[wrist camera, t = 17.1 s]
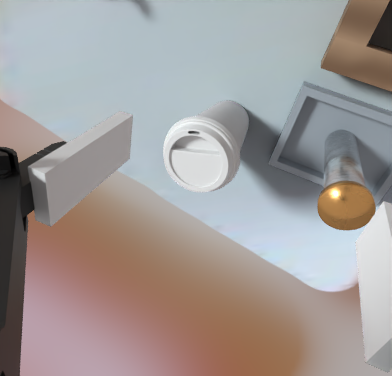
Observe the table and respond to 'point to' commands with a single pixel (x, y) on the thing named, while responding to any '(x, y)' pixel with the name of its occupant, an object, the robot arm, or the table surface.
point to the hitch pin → (344, 185)
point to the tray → (329, 122)
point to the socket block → (360, 45)
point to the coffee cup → (206, 147)
